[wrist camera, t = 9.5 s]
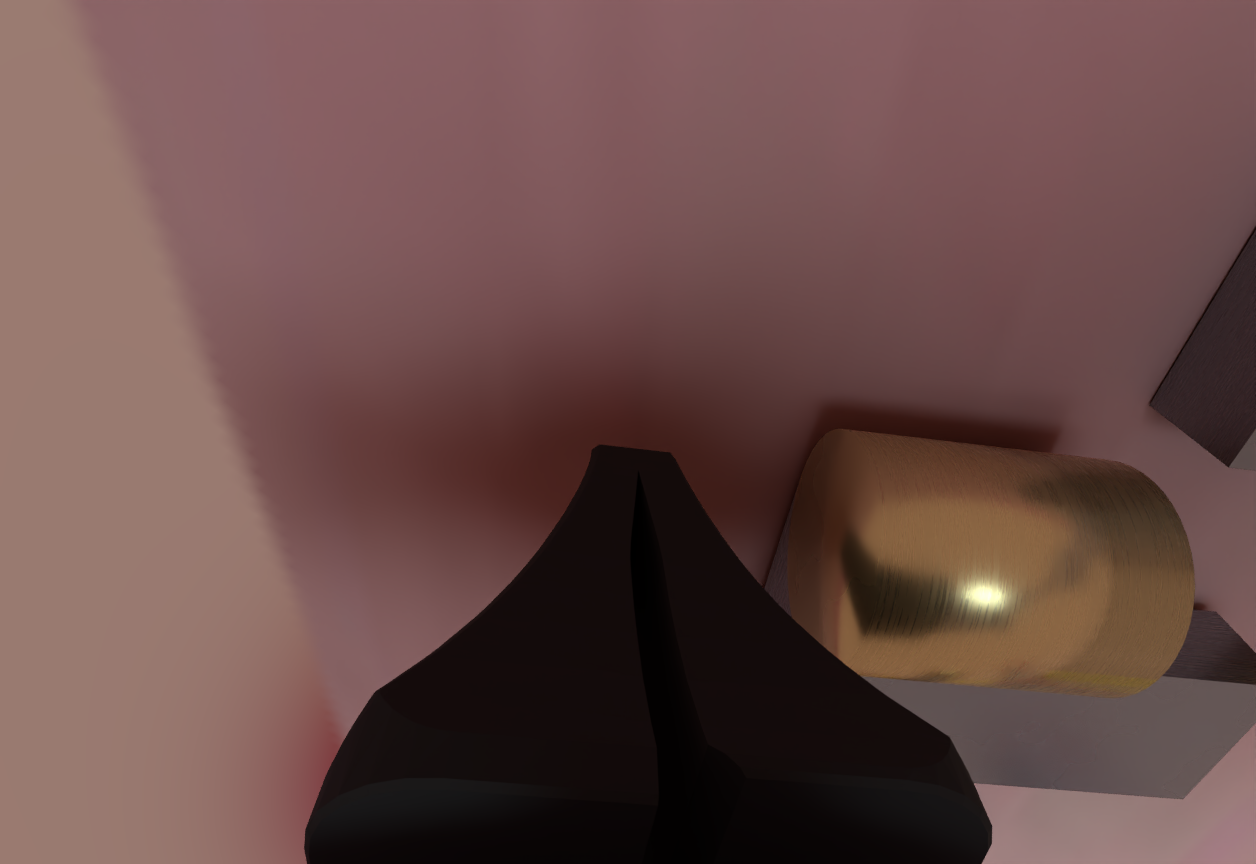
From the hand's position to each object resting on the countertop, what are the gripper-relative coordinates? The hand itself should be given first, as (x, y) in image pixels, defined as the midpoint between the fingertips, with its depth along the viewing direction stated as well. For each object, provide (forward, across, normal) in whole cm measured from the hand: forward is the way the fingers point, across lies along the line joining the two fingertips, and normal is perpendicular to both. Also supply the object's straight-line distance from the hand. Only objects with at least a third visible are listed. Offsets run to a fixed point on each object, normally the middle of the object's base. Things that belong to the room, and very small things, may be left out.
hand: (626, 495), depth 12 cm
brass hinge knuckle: (+1, -8, +2) cm, 9 cm away
